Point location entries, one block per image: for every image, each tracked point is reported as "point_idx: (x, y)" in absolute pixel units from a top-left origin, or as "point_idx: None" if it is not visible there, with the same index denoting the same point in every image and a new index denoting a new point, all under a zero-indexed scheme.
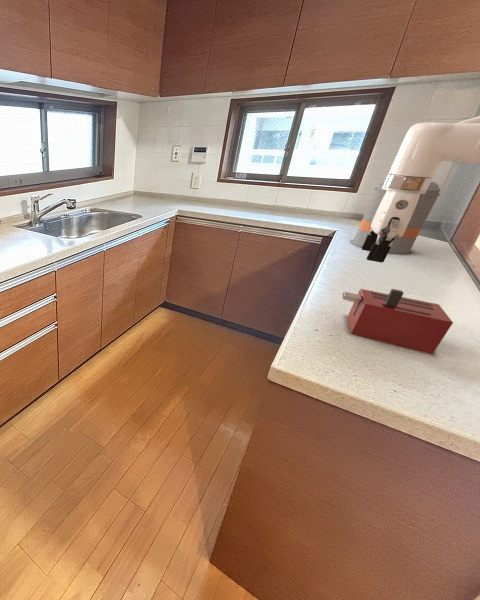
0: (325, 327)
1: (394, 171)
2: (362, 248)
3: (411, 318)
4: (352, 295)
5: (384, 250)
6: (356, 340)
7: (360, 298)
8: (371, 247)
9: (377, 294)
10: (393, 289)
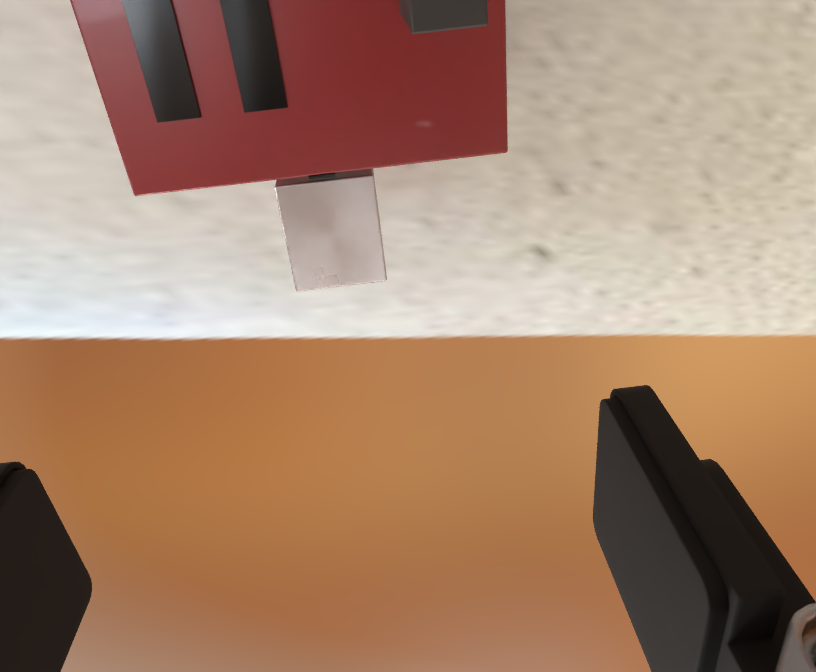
0: (470, 218)
1: None
2: (81, 600)
3: None
4: (341, 235)
5: (783, 571)
6: (539, 57)
7: (366, 181)
8: (40, 567)
9: (179, 63)
10: (427, 17)
